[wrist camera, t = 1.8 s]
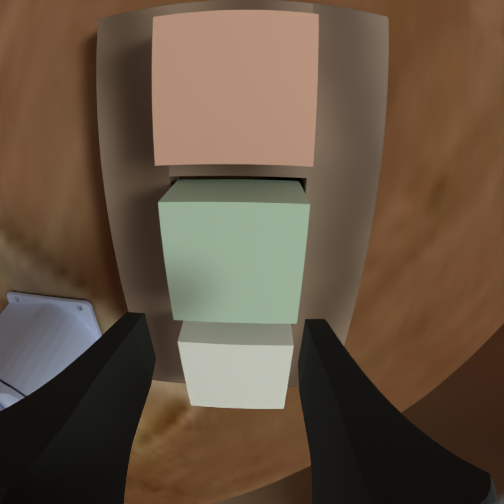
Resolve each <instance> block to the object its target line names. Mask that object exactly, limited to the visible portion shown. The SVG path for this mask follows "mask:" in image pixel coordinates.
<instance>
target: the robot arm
mask: <svg viewBox="0 0 504 504" xmlns="http://www.w3.org/2000/svg"><path fill="white" fill-rule="evenodd" d="M6 297H7V299H8V302H9V304H8V305H7V306H6V308H5V309H4V310H3V311H2V312H1V313H0V504H124V493H125V485H126V477H127V470H128V463H129V457H130V451H131V447H132V443H133V439H134V436H135V433H136V430H137V426H138V423H139V420H140V417H141V414H142V411H143V408H144V405H145V402H146V399H147V396H148V392H149V389H150V386H151V382H152V377H153V372H154V367H155V362H156V355H155V352H154V348H153V344H152V340H151V336H150V332H149V328H148V324H147V320H146V315H145V313H136V312H127V313H126V314H125V315H123V316H122V317H121V318H120V319H119V320H118V321H117V322H116V323H115V324H114V325H113V326H112V327H111V328H110V329H108V330H107V331H106V332H105V333H104V334H103V335H102V334H101V332H100V329H99V326H98V323H97V320H96V317H95V314H94V311H93V308H92V305H91V304H90V303H89V302H88V301H84V300H75V299H66V298H57V297H48V296H40V295H33V294H25V293H18V292H11V291H9V292H8V293H7V294H6ZM80 306H81V307H80ZM298 378H299V392H300V398H301V404H302V410H303V415H304V421H305V427H306V432H307V438H308V444H309V450H310V458H311V469H312V470H311V471H312V499H313V504H497V503H498V501H499V499H498V496H497V493H496V490H495V487H494V484H493V481H492V478H491V476H490V474H489V473H487V472H485V471H483V470H481V469H479V468H478V467H476V466H474V465H472V464H470V463H468V462H466V461H464V460H462V459H461V458H459V457H457V456H456V455H454V454H452V453H451V452H450V451H448V450H447V449H445V448H444V447H442V446H440V445H439V444H438V443H437V442H435V441H434V440H433V439H431V438H430V437H429V436H427V435H426V434H425V433H424V432H422V431H421V430H420V429H419V428H417V427H416V426H415V425H414V424H412V423H411V422H410V421H409V420H408V419H407V418H406V417H405V416H404V415H402V414H401V413H400V412H399V411H398V410H397V409H396V408H395V407H394V406H393V405H392V404H391V403H390V402H389V401H388V400H387V399H386V398H385V396H384V395H383V394H382V393H381V392H380V391H379V390H378V389H377V388H376V386H375V385H374V384H373V383H372V382H371V381H370V379H369V378H368V377H367V376H366V375H365V373H364V372H363V371H362V370H361V368H360V367H359V366H358V364H357V363H356V362H355V360H354V359H353V358H352V357H351V355H350V354H349V352H348V351H347V350H346V348H345V347H344V346H343V344H342V343H341V341H340V340H339V338H338V337H337V335H336V334H335V332H334V331H333V329H332V328H331V326H330V325H329V323H328V322H327V321H326V320H325V319H305V323H304V329H303V336H302V342H301V348H300V354H299V359H298Z"/></svg>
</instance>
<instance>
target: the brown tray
mask: <svg viewBox="0 0 504 504" xmlns="http://www.w3.org/2000/svg"><path fill="white" fill-rule="evenodd" d="M216 10H276V11H292V12H304V13H314V14H319V45H318V85H317V110H316V129H315V146H314V161H313V167H308V166H288V165H256V164H190V165H159V166H155V158H154V141H153V117H152V34H153V17H157V16H163V15H171V14H179V13H189V12H200V11H216ZM388 54H389V32H388V17H386V16H382V15H377V14H373V13H368V12H364V11H359V10H353V9H348V8H342V7H336V6H329V5H322V4H313V3H304V2H293V1H277V0H217V1H201V2H190V3H181V4H172V5H165V6H158V7H152V8H146V9H141V10H135V11H130V12H126V13H121V14H117V15H113V16H108V17H104V18H101V19H98V30H97V56H96V88H97V116H98V132H99V145H100V156H101V166H102V175H103V183H104V191H105V198H106V205H107V211H108V218H109V224H110V230H111V235H112V241H113V246H114V251H115V256H116V261H117V266H118V270H119V275H120V279H121V284H122V288H123V292H124V296H125V300H126V304H127V308H128V312H136V313H145V315H146V320H147V324H148V328H149V332H150V336H151V340H152V344H153V348H154V352H155V355H156V362H155V367H154V372H153V377H152V380H158V381H167V382H177V383H186V381H185V376H184V372H183V367H182V362H181V357H180V352H179V347H178V338H179V335H180V331H181V328H182V324H183V321H184V320H174V319H173V314H172V308H171V301H170V295H169V289H168V282H167V275H166V268H165V260H164V253H163V245H162V236H161V228H160V218H159V208H158V202H159V200H160V199H161V198H162V197H163V196H164V195H165V194H166V192H167V191H168V190H169V189H170V188H171V187H172V186H173V185H174V184H175V183H176V181H177V180H180V177H179V176H268V177H295V178H301V182H300V184H301V186H302V188H303V190H304V192H305V195H306V197H307V199H308V201H309V203H310V212H309V222H308V233H307V243H306V252H305V261H304V270H303V279H302V287H301V295H300V303H299V311H298V318H297V324H291V328H292V336H293V344H294V347H293V354H292V360H291V367H290V373H289V379H288V386H287V387H299V378H298V359H299V354H300V348H301V342H302V336H303V329H304V323H305V319H325V320H326V321H327V322H328V323H329V325H330V326H331V328H332V329H333V331H334V332H335V334H336V335H337V337H338V338H339V340H340V341H341V343H342V344H343V346H344V344H345V341H346V337H347V334H348V330H349V326H350V323H351V319H352V315H353V311H354V307H355V303H356V299H357V295H358V290H359V286H360V282H361V277H362V273H363V268H364V263H365V259H366V254H367V249H368V243H369V238H370V233H371V227H372V222H373V216H374V210H375V203H376V197H377V190H378V183H379V176H380V168H381V160H382V151H383V141H384V131H385V119H386V105H387V87H388Z"/></svg>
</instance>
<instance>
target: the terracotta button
mask: <svg viewBox="0 0 504 504" xmlns="http://www.w3.org/2000/svg"><path fill="white" fill-rule="evenodd" d="M318 45H319V14H314V13H304V12H292V11H276V10H216V11H200V12H189V13H179V14H171V15H163V16H157V17H153V34H152V117H153V141H154V158H155V166H159V165H190V164H256V165H288V166H308V167H313V161H314V146H315V129H316V110H317V85H318Z"/></svg>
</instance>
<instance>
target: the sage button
mask: <svg viewBox="0 0 504 504" xmlns="http://www.w3.org/2000/svg"><path fill="white" fill-rule="evenodd" d="M158 208H159V218H160V228H161V236H162V245H163V253H164V260H165V268H166V275H167V282H168V289H169V295H170V301H171V308H172V314H173V319H174V320H184V321H203V322H226V323H265V324H297V318H298V311H299V303H300V295H301V287H302V279H303V270H304V261H305V252H306V243H307V233H308V222H309V212H310V203H309V201H308V199H307V197H306V195H305V192H304V190H303V188H302V186H301V184H300V182H299V181H285V180H248V179H184V180H177V181H176V183H175V184H174V185H173V186H172V187H171V188H170V189H169V190H168V191H167V192H166V194H165V195H164V196H163V197H162V198H161V199H160V200H159V202H158Z"/></svg>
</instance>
